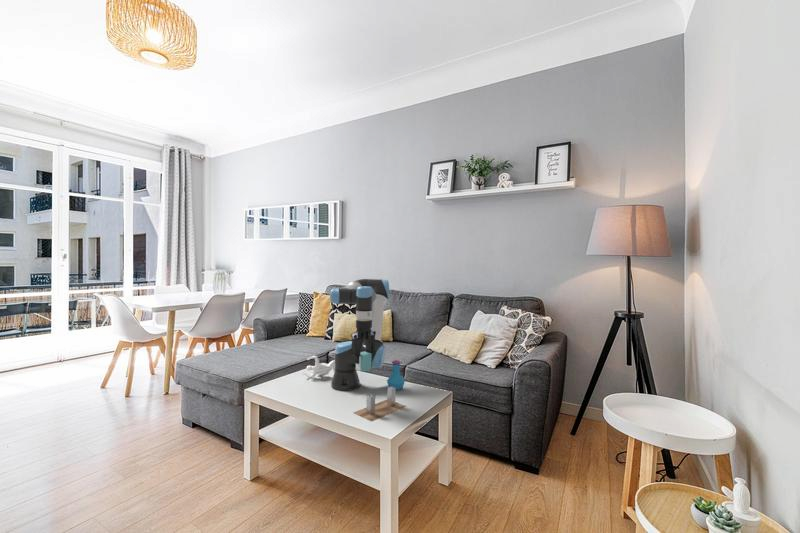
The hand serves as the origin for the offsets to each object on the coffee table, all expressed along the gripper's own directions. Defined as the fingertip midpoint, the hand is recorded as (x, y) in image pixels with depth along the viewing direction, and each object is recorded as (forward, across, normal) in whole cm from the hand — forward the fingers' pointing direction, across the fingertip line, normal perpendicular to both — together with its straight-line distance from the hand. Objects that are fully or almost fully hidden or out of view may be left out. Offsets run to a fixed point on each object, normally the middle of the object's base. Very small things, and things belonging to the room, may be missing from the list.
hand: (363, 368), depth 171 cm
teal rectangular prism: (0, 0, 0) cm, 0 cm away
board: (+17, 0, -12) cm, 21 cm away
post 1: (+16, -6, -12) cm, 21 cm away
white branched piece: (+17, +10, +47) cm, 51 cm away
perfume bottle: (+17, +25, +2) cm, 30 cm away
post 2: (+16, +7, -12) cm, 21 cm away
